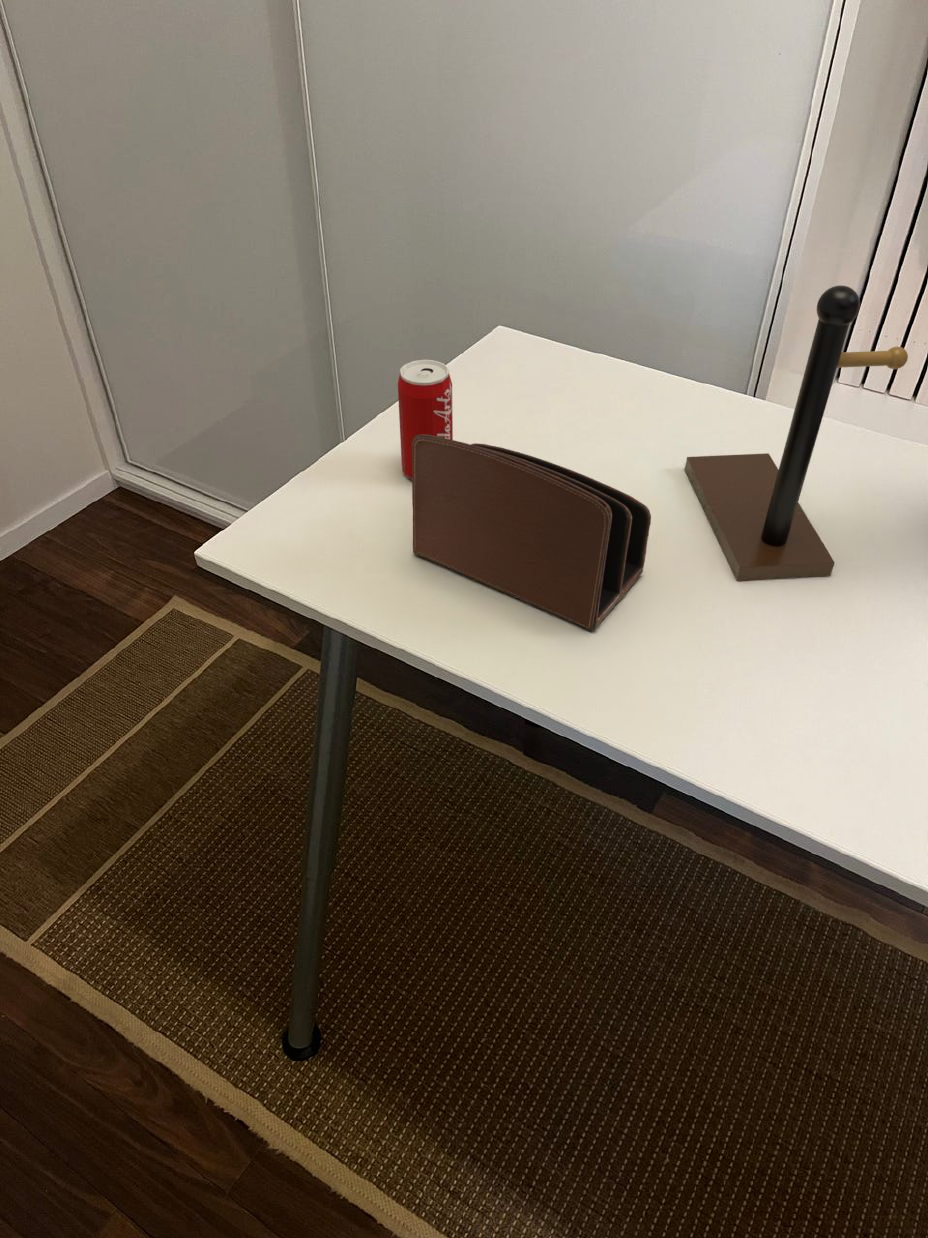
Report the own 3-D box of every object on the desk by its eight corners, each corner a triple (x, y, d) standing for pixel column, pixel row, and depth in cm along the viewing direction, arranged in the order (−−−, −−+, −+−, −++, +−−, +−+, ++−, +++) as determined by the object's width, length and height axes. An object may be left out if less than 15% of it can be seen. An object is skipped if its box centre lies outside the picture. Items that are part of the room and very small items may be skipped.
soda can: (441, 489, 99) (439, 385, 91) (393, 479, 100) (387, 376, 92) (460, 462, 103) (459, 360, 95) (413, 453, 104) (409, 351, 96)
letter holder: (593, 634, 82) (610, 501, 73) (411, 555, 90) (405, 426, 81) (644, 574, 88) (665, 444, 79) (469, 505, 97) (469, 380, 87)
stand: (788, 464, 102) (856, 217, 85) (857, 574, 88) (955, 305, 71) (684, 469, 102) (730, 220, 84) (736, 581, 88) (805, 310, 70)
